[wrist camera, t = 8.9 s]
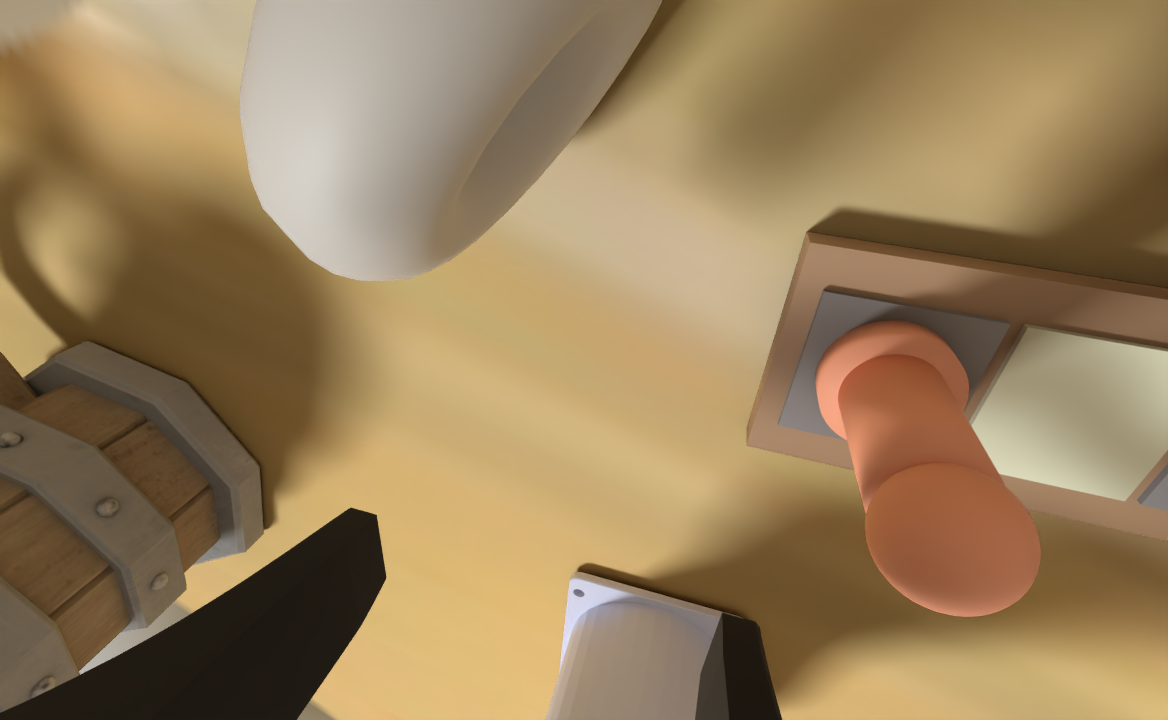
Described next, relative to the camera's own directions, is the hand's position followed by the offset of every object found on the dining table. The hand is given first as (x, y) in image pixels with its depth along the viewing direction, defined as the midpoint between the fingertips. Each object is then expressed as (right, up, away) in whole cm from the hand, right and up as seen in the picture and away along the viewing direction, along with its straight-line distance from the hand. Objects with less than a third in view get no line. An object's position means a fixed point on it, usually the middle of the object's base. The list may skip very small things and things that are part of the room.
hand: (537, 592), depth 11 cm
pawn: (+9, +4, +4) cm, 11 cm away
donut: (0, +13, +4) cm, 13 cm away
